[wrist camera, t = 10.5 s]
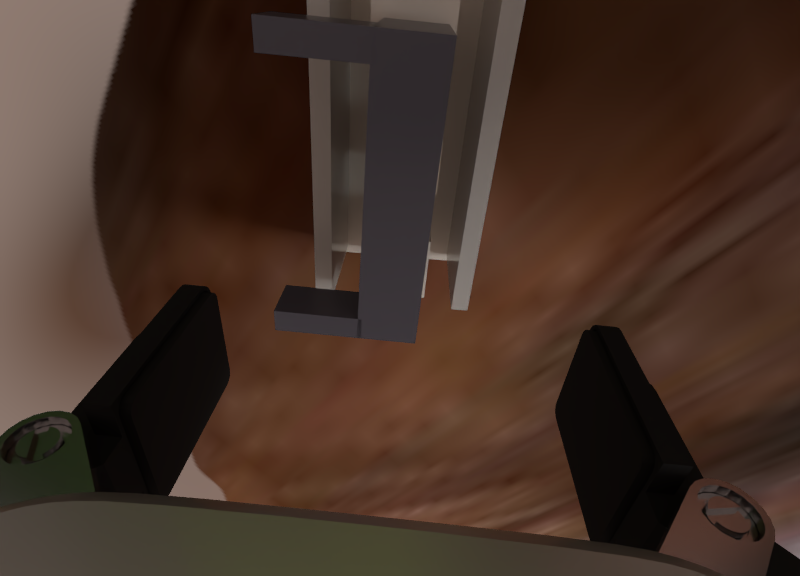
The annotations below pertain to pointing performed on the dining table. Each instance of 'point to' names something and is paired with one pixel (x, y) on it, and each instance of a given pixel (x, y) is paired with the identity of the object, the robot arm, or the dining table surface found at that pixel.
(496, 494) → the dining table surface
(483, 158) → the stand
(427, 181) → the grey bracket
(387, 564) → the robot arm
